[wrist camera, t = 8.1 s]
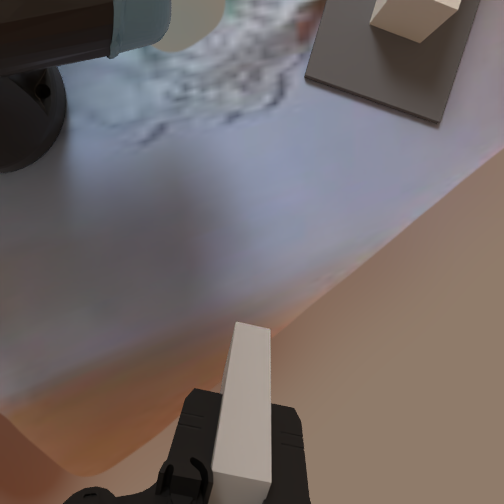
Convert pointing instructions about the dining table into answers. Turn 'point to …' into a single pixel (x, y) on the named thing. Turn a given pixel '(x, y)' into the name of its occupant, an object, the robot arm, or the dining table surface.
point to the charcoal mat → (389, 58)
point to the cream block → (412, 16)
